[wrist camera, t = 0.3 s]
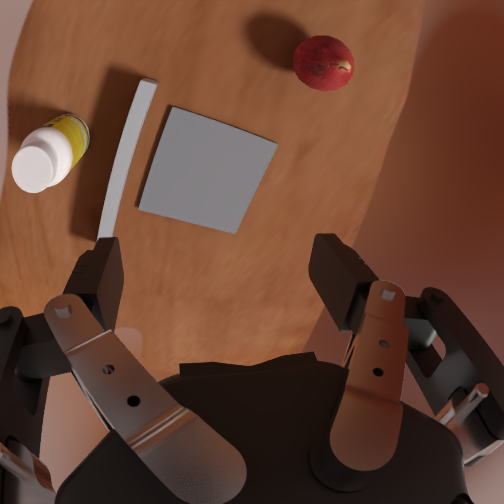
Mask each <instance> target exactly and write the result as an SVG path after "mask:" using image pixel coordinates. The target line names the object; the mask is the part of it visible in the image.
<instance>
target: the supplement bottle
mask: <svg viewBox="0 0 504 504" xmlns="http://www.w3.org/2000/svg"><path fill="white" fill-rule="evenodd" d="M89 140H90V135H89V130H88V127H87V125H86V123H85V122H84V121H83V120H82V119H81V118H79V117H78V116H76V115H73V114H64V115H60V116H58V117H56V118H54V119H52V120H51V121H49V122H47V123H46V124H44V125H43V126H41V127H39V128H38V129H36V130H34V131H33V132H32V133H30V134H29V135H28V136H27V137H26V138H25V140H24V141H23V143H22V145H21V147H20V150H19V151H18V152H17V153H16V155H15V157H14V159H13V162H12V174H13V178H14V180H15V182H16V183H17V185H18V186H19V187H20V188H21V189H23V190H24V191H26V192H30V193H37V192H40V191H42V190H44V189H45V188H46V187H51V186H54V185H56V184H58V183H59V182H60V181H62V180H63V179H64V177H65V176H66V175H67V174H68V173H69V172H70V170H71V169H72V168H73V167H74V165H75V164H76V163H77V162H78V161H79V159H80V158H81V157H82V156H83V155H84V153H85V152H86V150H87V148H88V145H89Z"/></svg>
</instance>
